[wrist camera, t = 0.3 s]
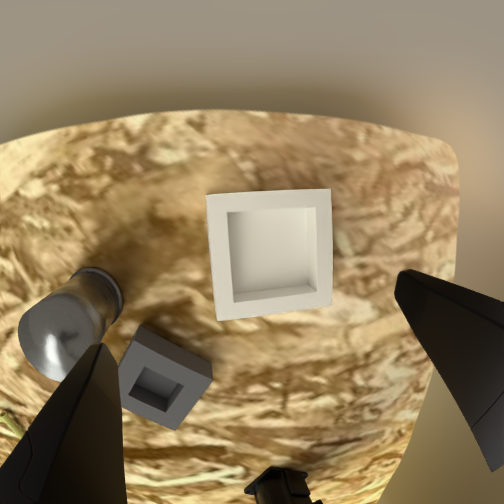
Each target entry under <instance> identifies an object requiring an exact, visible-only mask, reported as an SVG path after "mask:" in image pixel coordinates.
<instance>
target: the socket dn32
mask: <svg viewBox="0 0 504 504" xmlns="http://www.w3.org/2000/svg"><path fill="white" fill-rule="evenodd" d="M118 375H119V387H120V398H121V407H123V408H125V409H127V410H129V411H131V412H133V413H135V414H137V415H140V416H142V417H144V418H146V419H148V420H151V421H153V422H155V423H158V424H160V425H163V426H165V427H167V428H170V429H172V430H176V429H177V428H178V426H179V425H180V424H181V422H182V421H183V420H184V418H185V417H186V416H187V415H188V413H189V412H190V411H191V409H192V408H193V406H194V405H195V404H196V402H197V401H198V400H199V398H200V397H201V396H202V394H203V393H204V392H205V390H206V389H207V388H208V386H209V385H210V383H211V382H212V381H213V376H212V368H211V362H209V361H207V360H205V359H203V358H201V357H199V356H197V355H195V354H193V353H191V352H189V351H187V350H185V349H183V348H181V347H179V346H177V345H175V344H173V343H171V342H169V341H167V340H165V339H164V338H162V337H160V336H158V335H156V334H154V333H153V332H151V331H149V330H147V329H145V328H144V327H142V326H140V325H139V327H138V329H137V331H136V333H135V335H134V336H133V338H132V340H131V342H130V344H129V346H128V348H127V350H126V352H125V353H124V355H123V357H122V359H121V361H120V363H119V365H118Z"/></svg>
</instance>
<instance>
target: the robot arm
mask: <svg viewBox="0 0 504 504" xmlns="http://www.w3.org/2000/svg"><path fill="white" fill-rule="evenodd" d="M394 295H395V299H396V301H397V303H398V305H399V306H400V308H401V310H402V312H403V314H404V316H405V317H406V319H407V321H408V323H409V325H410V327H411V329H412V330H413V332H414V334H415V336H416V337H417V339H418V341H419V342H420V344H421V345H422V347H423V348H424V350H425V351H426V353H427V354H428V356H429V358H430V359H431V361H432V362H433V364H434V366H435V367H436V369H437V370H438V372H439V374H440V375H441V377H442V379H443V380H444V382H445V384H446V385H447V387H448V389H449V391H450V392H451V394H452V396H453V397H454V399H455V401H456V403H457V405H458V406H459V408H460V410H461V412H462V414H463V416H464V417H465V419H466V421H467V423H468V425H469V427H470V428H471V431H472V433H473V435H474V437H475V439H476V441H477V443H478V445H479V447H480V449H481V451H482V453H483V455H484V457H485V459H486V462H487V464H488V466H489V468H490V470H491V472H494V471H495V470H497V469H498V468H500V467H501V466H503V465H504V302H501V301H500V300H497V299H494V298H492V297H489V296H486V295H484V294H481V293H478V292H475V291H473V290H470V289H467V288H464V287H462V286H459V285H456V284H453V283H450V282H448V281H445V280H442V279H439V278H436V277H433V276H430V275H427V274H425V273H422V272H419V271H416V270H413V269H406V270H403V271H401V272H399V274H398V276H397V281H396V286H395V291H394ZM307 477H308V474H307V473H306V472H299V471H292V470H286V469H281V468H275V467H271V468H269V469H267V470H266V471H265V472H264V473H263V474H262V475H261V476H260V477H258V478H257V479H256V480H255V481H254V482H253V483H251V484H250V485H249V486H248V487H247V488H246V489H244V493H245V494H251V495H254V496H255V500H256V503H257V504H323V503H322V501H321V500H317V501H316V502H313V503H312V501H311V499H310V496H309V495H310V491H309V489H308V487H307V484H306V482H305V480H304V479H306V478H307ZM0 504H128V503H127V495H126V485H125V473H124V458H123V433H122V407H121V398H120V387H119V375H118V366H117V363H116V360H115V359H114V357H113V356H112V354H111V352H110V351H109V349H108V347H107V346H106V344H104V343H95V344H91V345H90V346H89V347H88V348H87V350H86V351H85V352H84V354H83V355H82V356H81V357H80V359H79V360H78V361H77V362H76V364H75V365H74V366H73V368H72V369H71V370H70V371H69V373H68V374H67V375H66V377H65V378H64V379H63V381H62V382H61V383H60V385H59V386H58V387H57V389H56V390H55V391H54V393H53V394H52V395H51V397H50V398H49V400H48V401H47V402H46V404H45V405H44V406H43V408H42V409H41V411H40V412H39V413H38V415H37V416H36V418H35V419H34V421H33V422H32V423H31V425H30V426H29V428H28V431H26V432H25V434H24V435H23V437H22V438H21V440H20V441H19V442H18V444H17V445H16V447H15V448H14V450H13V451H12V453H11V454H10V455H9V457H8V458H7V459H6V461H5V462H4V463H3V465H2V466H1V467H0Z"/></svg>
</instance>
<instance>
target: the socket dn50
mask: <svg viewBox="0 0 504 504" xmlns="http://www.w3.org/2000/svg"><path fill="white" fill-rule="evenodd" d="M205 203H206V217H207V230H208V242H209V254H210V265H211V275H212V286H213V295H214V305H215V311H216V317H217V321H224V320H233V319H241V318H249V317H257V316H264V315H271V314H278V313H285V312H292V311H298V310H305V309H311V308H317V307H323V306H329V305H332V279H333V244H332V205H331V189H301V190H274V191H254V192H238V193H223V194H210V195H205Z"/></svg>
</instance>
